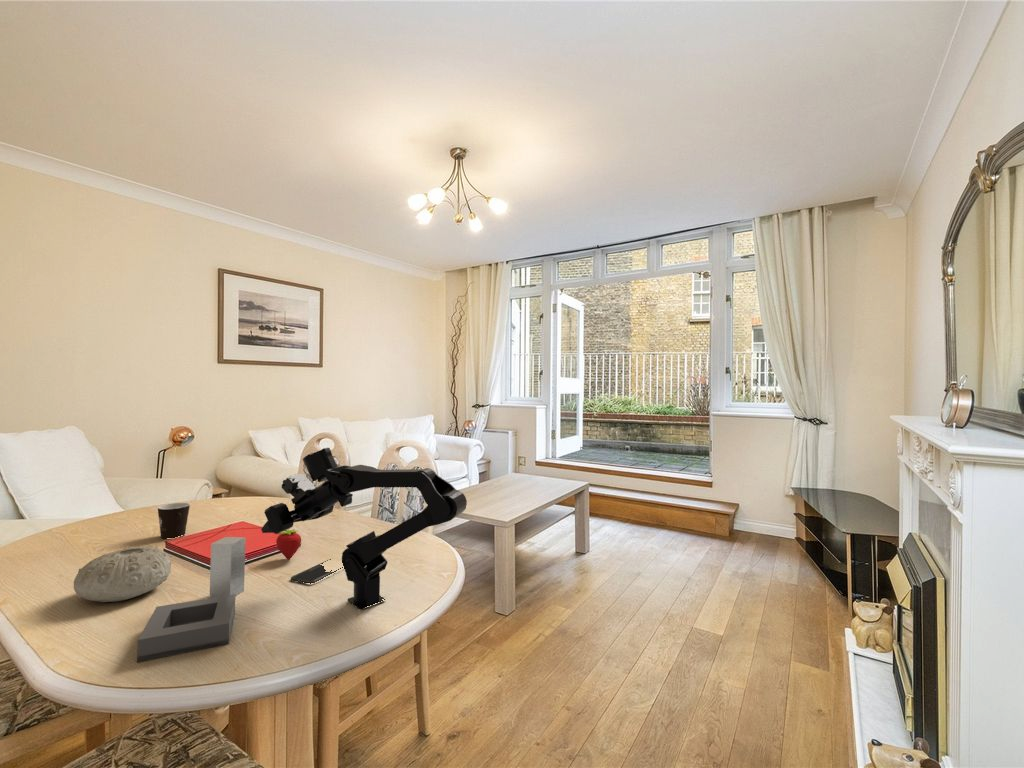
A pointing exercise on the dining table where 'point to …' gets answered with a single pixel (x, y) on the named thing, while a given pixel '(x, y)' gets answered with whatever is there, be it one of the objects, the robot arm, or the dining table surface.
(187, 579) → the dining table surface
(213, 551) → the steel block
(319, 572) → the phone
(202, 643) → the cradle
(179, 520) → the coffee mug
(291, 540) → the strawberry
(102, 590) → the decorative shell
